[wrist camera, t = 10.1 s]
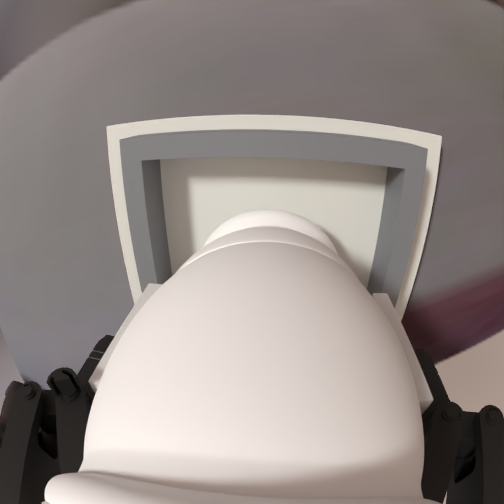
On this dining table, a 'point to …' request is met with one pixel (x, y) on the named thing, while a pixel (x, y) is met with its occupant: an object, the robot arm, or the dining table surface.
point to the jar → (254, 384)
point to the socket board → (274, 189)
